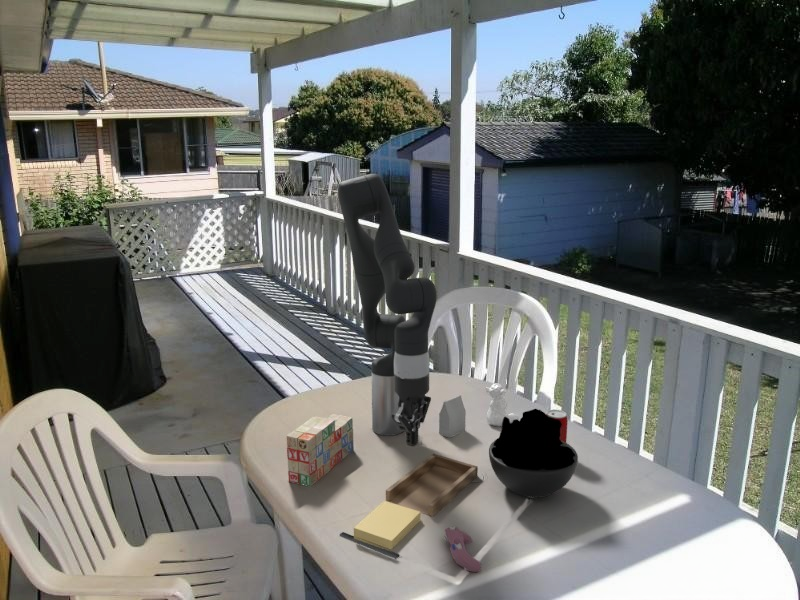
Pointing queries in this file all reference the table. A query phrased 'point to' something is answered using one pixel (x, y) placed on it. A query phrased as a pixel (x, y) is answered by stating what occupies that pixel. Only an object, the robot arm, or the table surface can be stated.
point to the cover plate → (386, 525)
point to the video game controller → (461, 549)
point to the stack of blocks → (318, 447)
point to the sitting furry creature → (498, 406)
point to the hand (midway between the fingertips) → (412, 444)
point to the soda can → (562, 418)
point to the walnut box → (431, 484)
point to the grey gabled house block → (452, 417)
